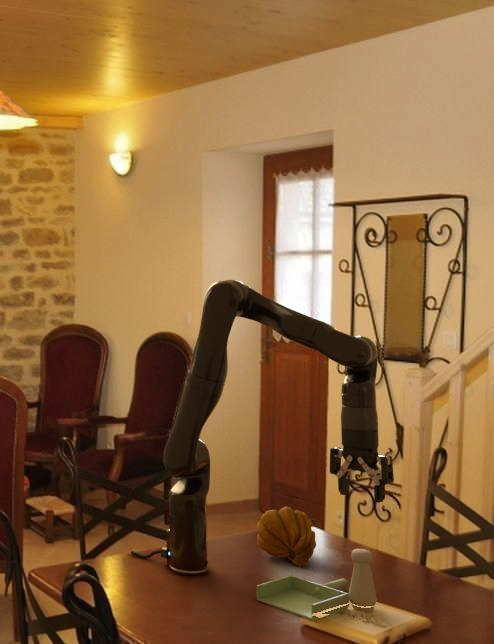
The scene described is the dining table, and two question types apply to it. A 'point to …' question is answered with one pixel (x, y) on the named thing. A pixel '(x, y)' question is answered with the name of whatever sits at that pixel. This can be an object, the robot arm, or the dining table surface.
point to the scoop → (304, 596)
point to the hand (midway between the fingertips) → (361, 498)
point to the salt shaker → (362, 581)
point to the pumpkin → (287, 535)
